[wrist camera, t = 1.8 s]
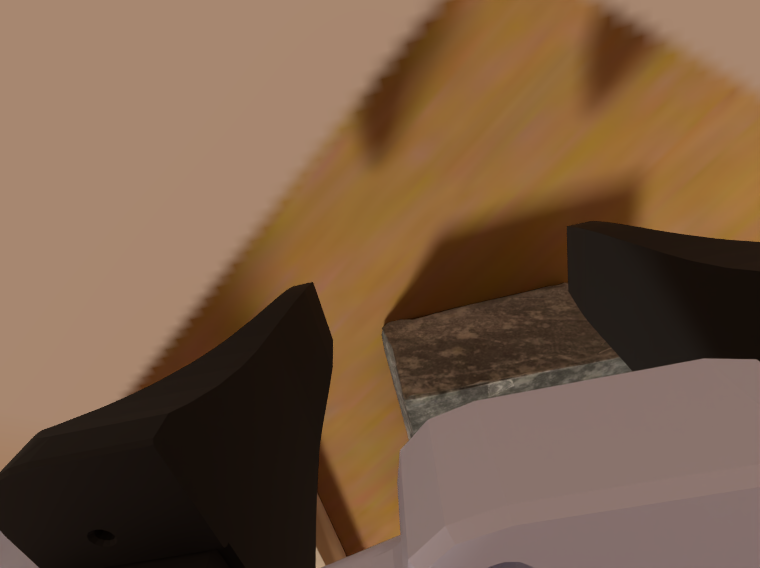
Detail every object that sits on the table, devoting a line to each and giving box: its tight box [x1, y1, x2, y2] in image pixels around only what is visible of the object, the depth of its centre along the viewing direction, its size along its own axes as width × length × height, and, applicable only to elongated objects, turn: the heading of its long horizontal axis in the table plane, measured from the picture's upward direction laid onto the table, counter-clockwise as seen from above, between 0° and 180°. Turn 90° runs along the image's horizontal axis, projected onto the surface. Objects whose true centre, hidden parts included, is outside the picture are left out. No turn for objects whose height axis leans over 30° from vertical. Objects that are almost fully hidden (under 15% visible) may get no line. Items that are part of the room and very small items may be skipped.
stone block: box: [382, 283, 633, 440], centre depth 18 cm, size 9×14×5 cm, turn 13°
